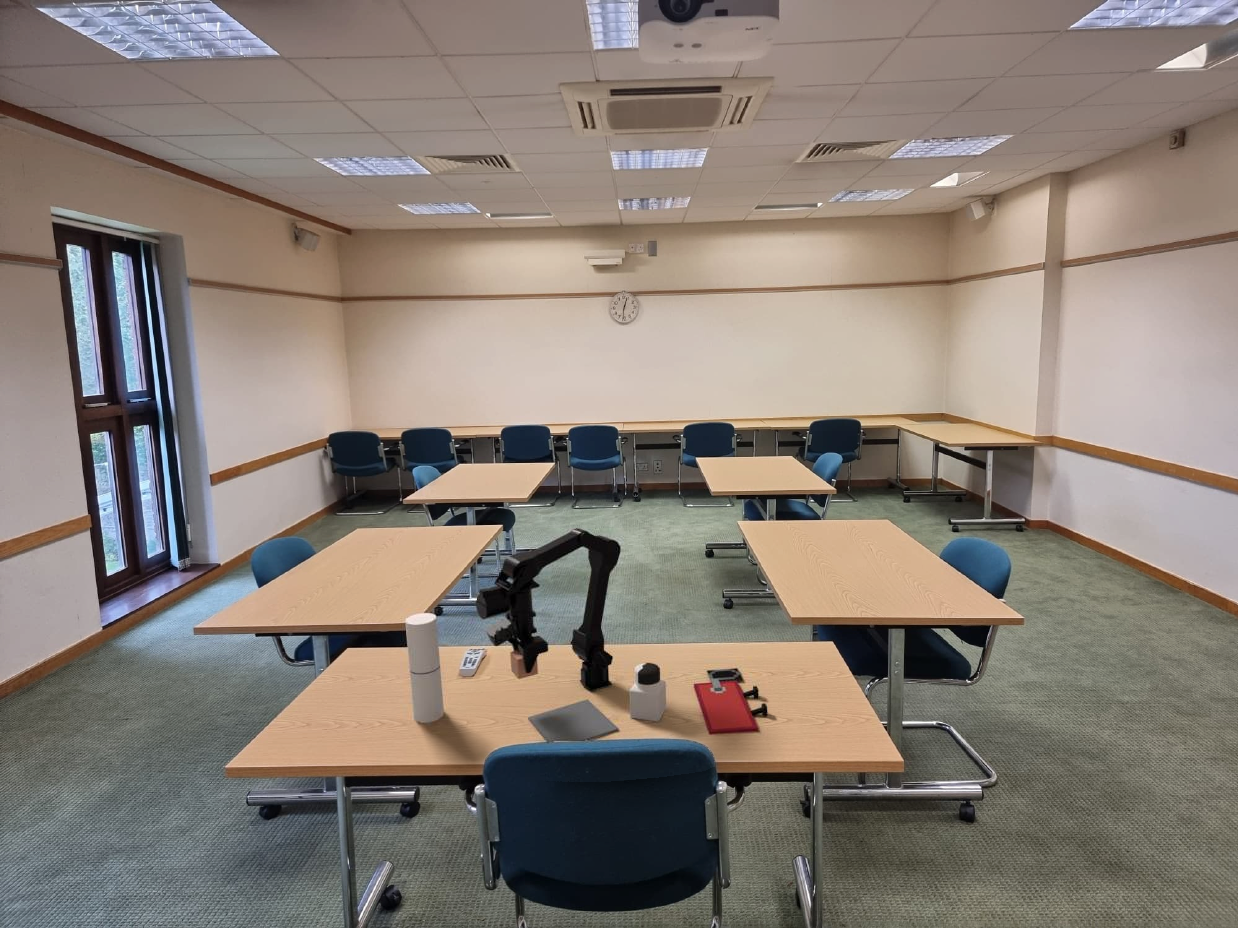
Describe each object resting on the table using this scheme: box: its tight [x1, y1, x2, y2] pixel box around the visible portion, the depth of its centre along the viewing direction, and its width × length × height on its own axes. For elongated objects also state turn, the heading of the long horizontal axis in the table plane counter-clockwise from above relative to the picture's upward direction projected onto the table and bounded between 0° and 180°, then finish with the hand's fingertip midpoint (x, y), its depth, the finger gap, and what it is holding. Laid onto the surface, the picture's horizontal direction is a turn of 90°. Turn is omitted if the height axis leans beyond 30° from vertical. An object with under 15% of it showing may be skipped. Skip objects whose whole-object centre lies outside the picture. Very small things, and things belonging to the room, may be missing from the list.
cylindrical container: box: [404, 612, 445, 724], centre depth 170 cm, size 7×7×25 cm
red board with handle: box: [693, 667, 768, 735], centre depth 175 cm, size 30×3×15 cm
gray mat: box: [527, 699, 620, 743], centre depth 166 cm, size 16×16×1 cm
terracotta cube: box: [509, 650, 539, 680], centre depth 171 cm, size 5×5×5 cm
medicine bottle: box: [629, 662, 667, 723], centre depth 169 cm, size 7×7×12 cm
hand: (524, 668), depth 172 cm, fingers closed on terracotta cube, 5 cm apart
